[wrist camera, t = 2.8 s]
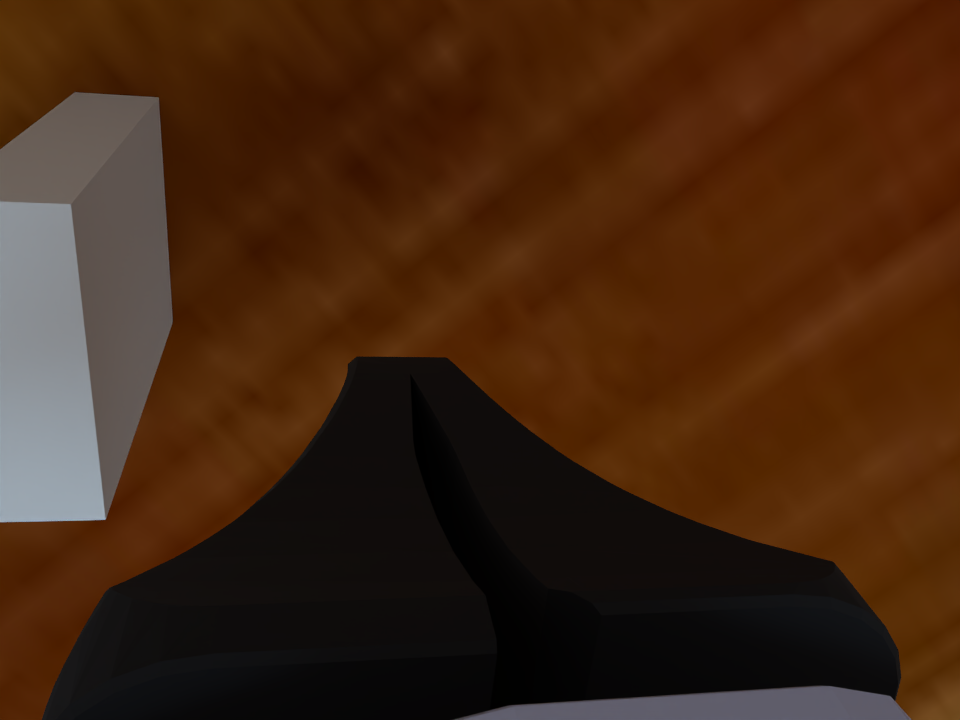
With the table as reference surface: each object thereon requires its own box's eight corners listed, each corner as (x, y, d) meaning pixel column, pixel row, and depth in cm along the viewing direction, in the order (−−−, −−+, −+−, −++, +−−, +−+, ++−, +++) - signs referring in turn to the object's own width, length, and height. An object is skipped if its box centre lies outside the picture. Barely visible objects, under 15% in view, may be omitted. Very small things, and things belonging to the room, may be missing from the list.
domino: (97, 320, 20) (-8, 522, 13) (75, 92, 18) (-65, 198, 11) (172, 321, 20) (105, 519, 14) (158, 97, 18) (70, 204, 12)
